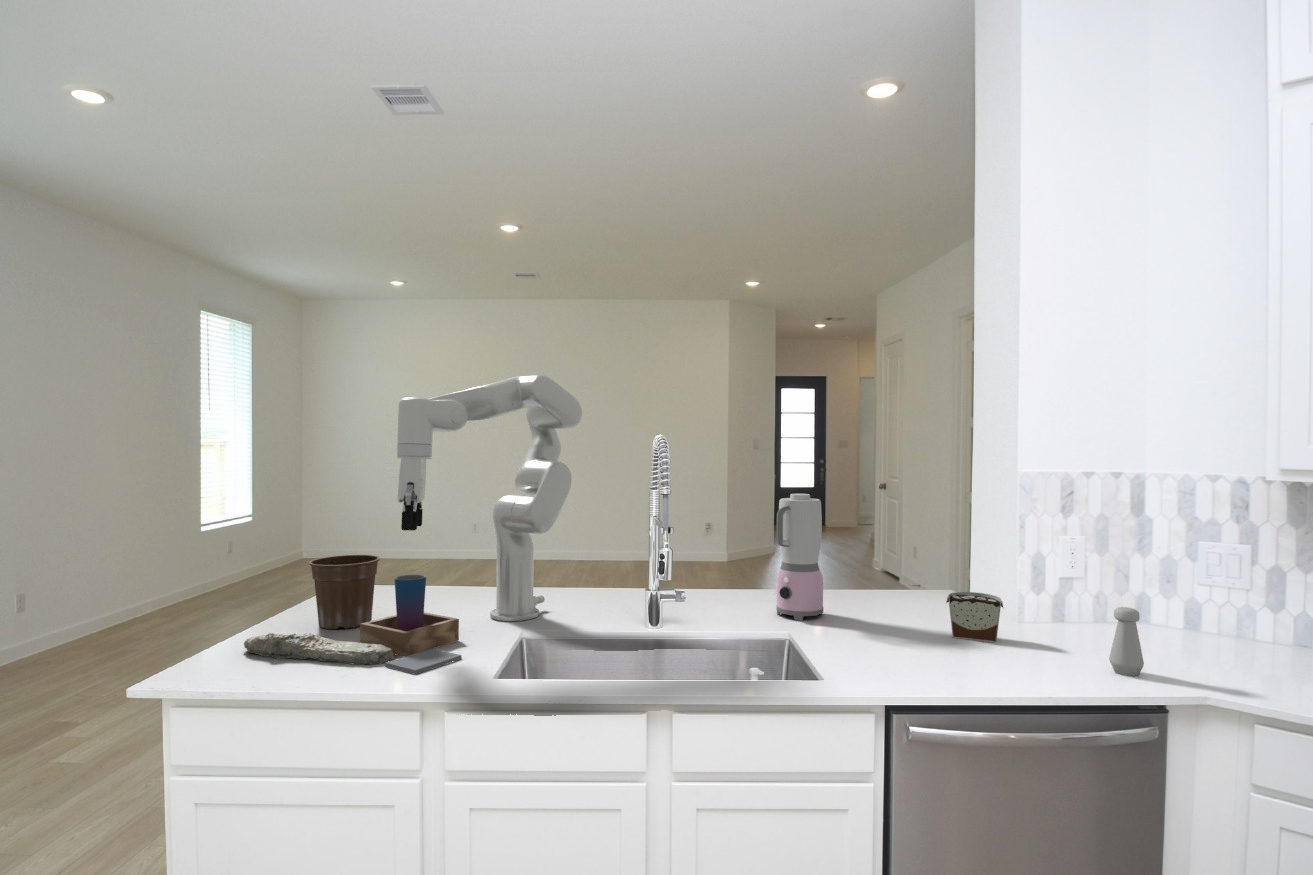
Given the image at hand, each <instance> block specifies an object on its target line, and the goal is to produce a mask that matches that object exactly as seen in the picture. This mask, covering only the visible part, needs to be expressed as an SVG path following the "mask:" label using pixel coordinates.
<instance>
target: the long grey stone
mask: <svg viewBox="0 0 1313 875" xmlns="http://www.w3.org/2000/svg"><path fill="white" fill-rule="evenodd" d="M243 646H244V649H246V650H247V652H248V653H251V654H256V655H257V654H258V655H259V656H261V655H262V657H268V656H273V657H272V658H274V659H275V658H277V659H283V658H287V659H293V660H306V659H314V660H319V661H320V662H325V661H327V662H329V661H331V662H339V663H342V664H348V663H350V664H351V663H354V664H353V665H367V664H369V665H380V664H379V663H381V664H385V662H388V661H393V660H394V654H393V651H392V649H391V648H388V647H386V646H384V645H380V644H367V643H360V641H359V642H358V641H351V640H350V641H347V640H345V641H344V640H335V639H332V638H326V637H323V636H320V635H318V634H314V633H311V632H309V633H304V634H302V633H300V634H299V633H290V634H281V633H274V632H269V633H267V634H265V635H264V634H262V635H257V636H253V637H252V636H251V637H247V638H246V640H245V641H244V642H243ZM258 655H257V656H258Z"/></svg>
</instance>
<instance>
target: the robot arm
mask: <svg viewBox="0 0 1313 875" xmlns="http://www.w3.org/2000/svg"><path fill="white" fill-rule="evenodd" d="M522 409H526V412H525V413H526V415H525V416H526V421H527V423H528V425H529V429H530V433H531V434H530V435H531V440H530V445H529V448H528V450H527V452H526V454H525V456H524V458H523V460H522V462H521V464H520V466H519V468H518V470H517V472H516V475H515V477H514V485H515V488H516V490H517V491H518V492H520V493H521V494H506V495H504V496H502V497H500V498H498V500H497V501H496V502H495V504H494V505H493V506H494V507H493V511H492V520H493V524H494V529H495V540H496V596H495V598H496V600H495V601H496V604H495V607H496V608H495V609H493V610H492V609H491V611H490V613H489V616H490V618H491V619H493V620H496V621H501V620H502V622H503V621H505V622H518V621H520V622H521V621H526V620H532V619H535V618H537V617H539V615H540V610H539V608H537V607H536V606H537V605H538V604H542V603H544V602H545V600H546V599H545V597H544V595H542V594H541V595H538V596H536V595H534V572H535V571H534V562H535V561H534V560H535V559H534V558H535V556H534V549H535V548H534V542H533V539H532V536H531V534H539V535H540V534H545V533H547V532H549V531H550V530H551V529H552V528H553V527H554V525H555V523H556V521H557V520H558V517H559V515H560V513H561V511H562V508H563V506H564V504H565V502H566V500H567V497H568V495H569V493H570V490H571V488H572V481H573V480H572V472H571V470H570V468H569V466H568V465H567V464H565V463H564V462H562V461H559V458H560V456H561V452H562V446H561V441H560V438H559V435H558V434H557V430H558V429H572V428H574V427H577V425H579V423H580V422H581V420H582V417H583V410H582V405H581V404H580V402H579V400H578V399H577V398H576V397H575V396H573V395H572V394H571V393H570V392H569V391H567V390H566V389H565V388H564V387H562V386H561V385H560V384H559V383H557V382H556V381H555V380H553V379H552V378H550V377H548V376H547V375H543V374H529V375H518V376H513V377H510V378H506V379H503V380H499V381H495V382H492V383H488V384H484V385H480V386H475V387H472V388H468V389H465V390H461V391H455V392H451V393H447V394H442V395H439V396H438V395H437V396H434V397H431V398H423V397H403V398H402V399H400V400H399V402H398V409H397V410H398V412H397V414H398V416H397V439H396V440H397V443H396V459H400V464H399V474H398V487H397V502H398V503H403V505H402V512H401V525H400V526H401V527H400V528H401V530H402V531H417V529H418V527H421V526H422V525H423V501H424V500H425V492H426V484H427V483H426V479H427V460H432V459H433V458H432V456H433V432H436V433H437V432H438V433H439V432H441V433H445V432H446V433H447V432H451V433H452V432H456V431H459V430H460V429H462V428H463V427H464V426H466V424H467V423H468V422H469V421H473V422H474V421H484V420H490V419H494V418H499V417H501V416H503V415H507V414H510V413H513V412H517V411H518V410H522Z"/></svg>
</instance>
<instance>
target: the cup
mask: <svg viewBox="0 0 1313 875" xmlns="http://www.w3.org/2000/svg"><path fill="white" fill-rule="evenodd" d="M426 586H427V575H425V574H417V573H416V574H415V573H414V574H413V573H411V574H410V573H409V574H401V575H397V576H395V577H394V593H395V594H394V595H395V607H396V608H395V609H396V611H395V612H396V615H397V630H402V631H409V630H413V629H417V628H420V627H423V616H424V612H425V599H426V598H425V597H426Z"/></svg>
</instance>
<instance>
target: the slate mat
mask: <svg viewBox="0 0 1313 875" xmlns="http://www.w3.org/2000/svg"><path fill="white" fill-rule="evenodd" d="M456 660H457V661H459V660H462V654H458V653H453V652H450V651H446V650H445V651H444V650H440V649H437V648H433V649H429V650H425V651H422V652H419V653H416V654H412V655H409V656H406V657H403V656H401V657H400V658H396V659H392V660H391V661H389V662H386V663H384V664H385V665H384V666H385V667H386V668H390V669H393V670H398V671H401V672H404V673H408V674H413V675H417V674H421V673H423V672H426V671H430V670H433V669H436V668H439V667H442V666H444V665H448V664H450V662H451V663H453V662H452V661H454V662H457V661H456ZM447 663H448V664H447ZM441 665H442V666H441Z"/></svg>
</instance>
